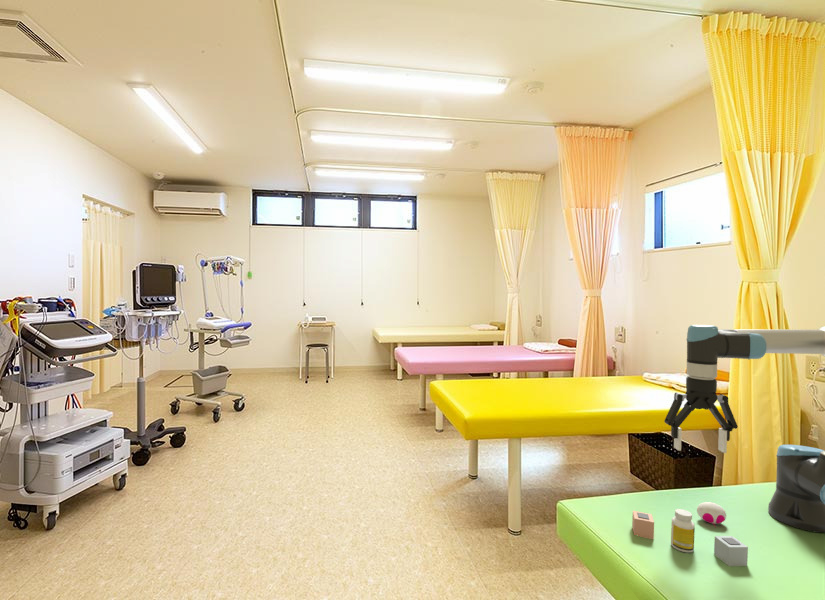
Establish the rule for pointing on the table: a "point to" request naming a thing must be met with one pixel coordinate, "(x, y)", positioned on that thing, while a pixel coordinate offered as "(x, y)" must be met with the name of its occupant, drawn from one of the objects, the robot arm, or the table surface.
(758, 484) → the table surface
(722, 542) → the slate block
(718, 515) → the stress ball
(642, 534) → the terracotta block
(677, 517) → the supplement bottle
